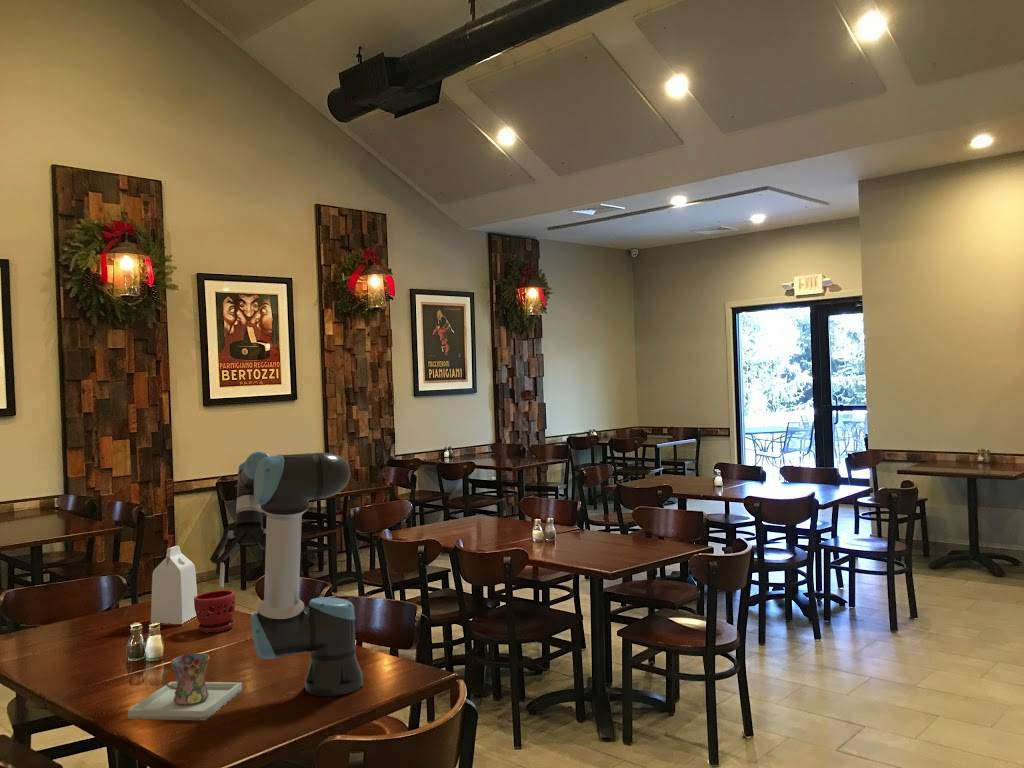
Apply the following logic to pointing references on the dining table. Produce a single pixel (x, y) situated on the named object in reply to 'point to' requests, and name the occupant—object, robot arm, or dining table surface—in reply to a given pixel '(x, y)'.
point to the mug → (189, 678)
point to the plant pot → (215, 610)
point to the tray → (166, 709)
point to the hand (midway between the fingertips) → (246, 585)
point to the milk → (173, 589)
